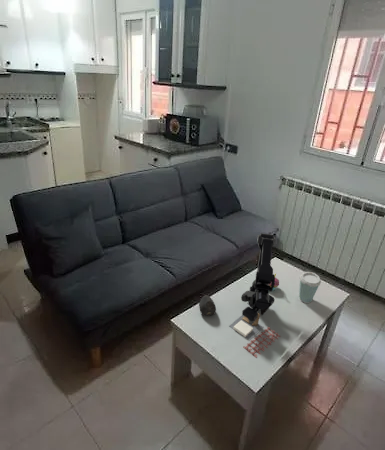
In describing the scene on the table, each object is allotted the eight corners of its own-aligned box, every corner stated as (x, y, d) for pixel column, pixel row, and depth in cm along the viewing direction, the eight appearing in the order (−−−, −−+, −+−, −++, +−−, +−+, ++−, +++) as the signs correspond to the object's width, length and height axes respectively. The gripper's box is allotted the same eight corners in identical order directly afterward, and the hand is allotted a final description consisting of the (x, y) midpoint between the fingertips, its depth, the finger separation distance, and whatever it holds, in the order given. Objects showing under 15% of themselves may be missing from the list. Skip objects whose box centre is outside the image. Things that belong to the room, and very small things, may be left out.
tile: (241, 320, 148) (233, 326, 144) (253, 328, 144) (245, 334, 140) (240, 322, 149) (233, 328, 145) (252, 330, 145) (245, 337, 141)
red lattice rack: (241, 349, 136) (242, 346, 135) (267, 329, 148) (267, 326, 147) (254, 360, 131) (255, 357, 130) (280, 338, 143) (280, 335, 142)
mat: (243, 314, 155) (243, 313, 154) (263, 328, 147) (263, 327, 147) (228, 327, 147) (228, 326, 146) (249, 341, 139) (249, 340, 139)
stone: (212, 315, 156) (213, 295, 158) (218, 317, 149) (219, 296, 151) (197, 315, 154) (198, 294, 155) (202, 317, 146) (204, 295, 148)
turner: (246, 315, 154) (248, 306, 151) (259, 323, 149) (261, 314, 146) (242, 319, 151) (243, 309, 148) (255, 327, 146) (257, 318, 144)
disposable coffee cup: (315, 308, 162) (322, 285, 155) (294, 302, 165) (300, 280, 158) (314, 295, 171) (321, 273, 164) (294, 290, 174) (300, 269, 167)
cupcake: (280, 291, 173) (285, 273, 167) (268, 294, 170) (271, 276, 164) (272, 282, 180) (275, 265, 174) (259, 284, 177) (263, 267, 171)
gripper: (257, 277, 151) (252, 302, 158) (234, 294, 139) (230, 320, 146) (277, 288, 144) (271, 313, 151) (255, 307, 132) (250, 333, 139)
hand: (256, 319), depth 147 cm, fingers open, 9 cm apart
